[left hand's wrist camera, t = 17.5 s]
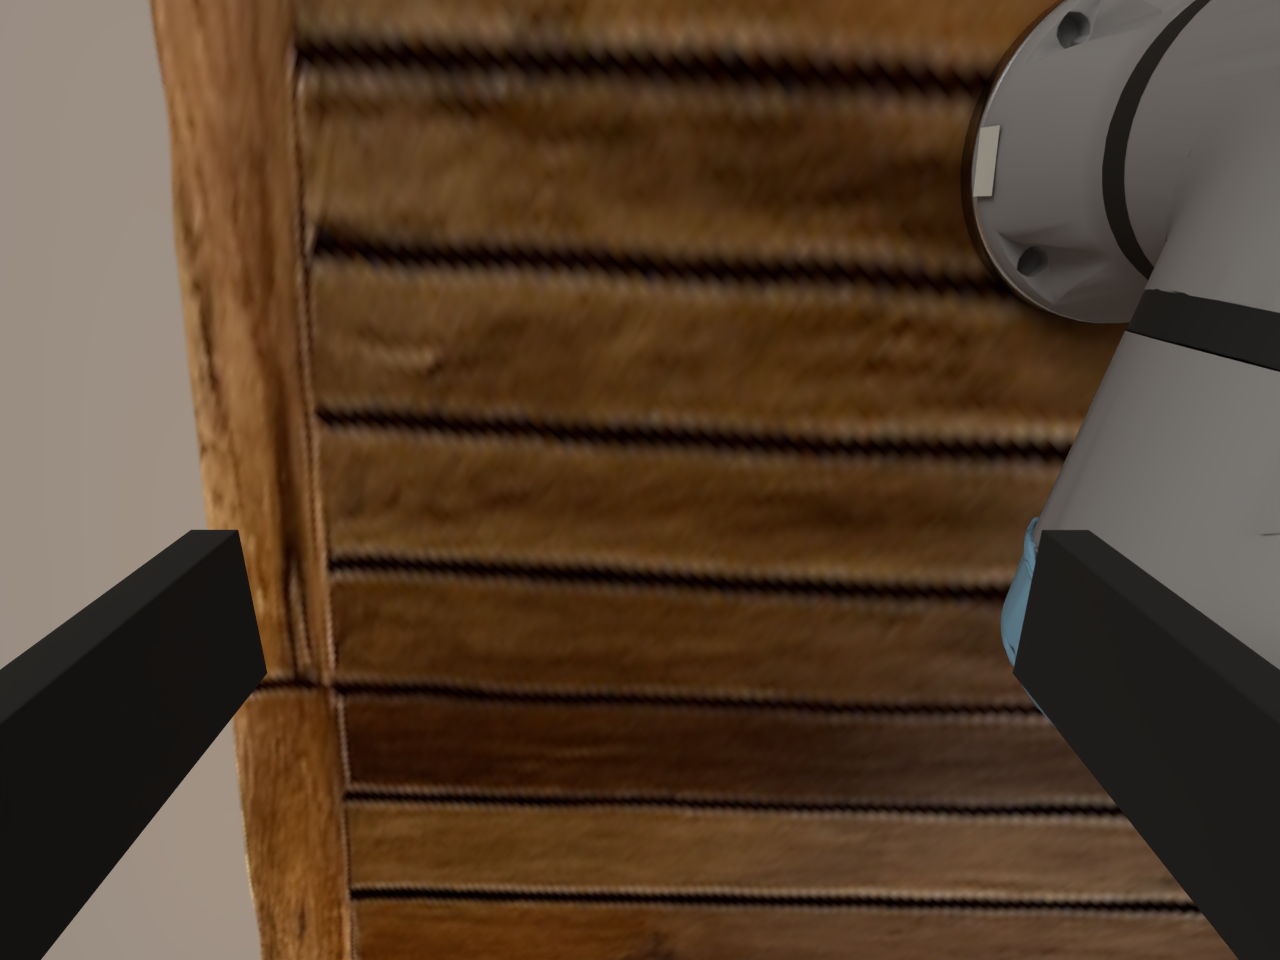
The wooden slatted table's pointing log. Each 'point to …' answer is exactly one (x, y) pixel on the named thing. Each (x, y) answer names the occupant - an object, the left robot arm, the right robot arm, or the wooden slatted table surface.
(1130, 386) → the left robot arm
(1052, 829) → the wooden slatted table surface
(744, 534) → the wooden slatted table surface
